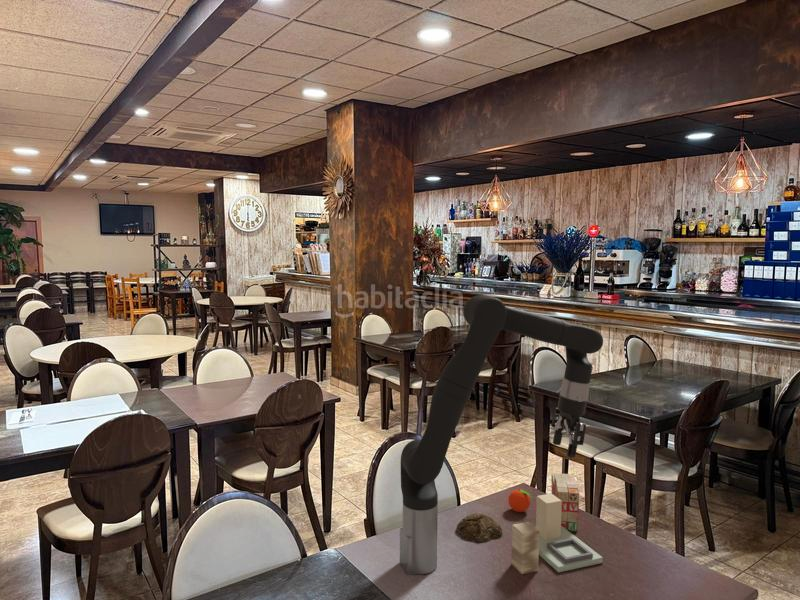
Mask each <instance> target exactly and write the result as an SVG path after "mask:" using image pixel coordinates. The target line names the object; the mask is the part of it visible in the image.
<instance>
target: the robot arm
mask: <svg viewBox="0 0 800 600" xmlns="http://www.w3.org/2000/svg"><path fill="white" fill-rule="evenodd" d="M462 316H463V318H464V320H465V321H466V323H467V324H468V325H469V328H468V329H469V330H468V332H467V334H466V336H465V339H464V341H463V343H462V345H461V346H460V347H459V349H458V350H457V351H456V352H455V354H454V355H453V356H452V357H451V358H450V359H449V360H448V361H447V363H446V365H444V367H443V369H442V370H441V373H440V374H439V377H438V379H437V382H436V384H435V386H434V389H433V392H432V395H431V399H430V406H429V413H428V421H427V423H426V428H425V430H424V432H423V435H422V438H421V439H413V440H411V441H410V442H407V444H406V445H405V446H404V447H403V449H402V451H401V455H400V490H401V494H402V527H400V529H399V563H400V564H401V566H402V568H403V569H404V571H405V572H406V574H408V575H409V574H414V575H426V574H430V573H432V572H434V571H435V570H436V568H437V566H438V507H439V505H438V502H439V500H438V499H439V497H438V496H439V494H438V490H437V487H436V481H435V480H436V479H437V477H438V476H439V474H440V473H441V471H442V468H443V467H444V466H443V465H444V462H445V460H446V456H447V452H448V450H449V447H450V443H451V440H452V437H453V436H454V433H455V430H456V429H457V427H458V425H459V422H460V419H461V418H462V417H461V416H462V415H463V412H464V410H465V408H466V405H467V403H468V402H469V399H470V397H471V394H472V392H473V389H474V388H475V385H476V383H477V380H478V377H479V375H480V374H481V370H482V369H483V366H484V364H485V361H486V358H487V357H488V354H489V353H490V351H491V349H492V347H493V345H494V343H495V342H496V340H497V338H498V337H499V334H500V332H501V331H502V330H503V331H506V332H507V331H508V332H511V333H514V334H518V335H522V336H524V337H527V338H530V339H532V340H537V341H540V342H544V343H546V344H547V343H548V344H551V345H556V346H561V347H565V358H566V359H565V360H566V365H565V368H564V369H565V370H564V376H563V378H562V379H563V380H562V384H561V386H560V392H559V397H558V402H557V407H555V408H554V411H553V415H552V419H551V420H552V421H551V425H550V426H551V427H552V428H553V431H554V434H553V440H552V444H553V445H555V446H560V445H561V444H562V438H563V432H564V431H565V434H566V436H567V437H568V442H569V443H568V446H567V451H566V456H567V457H568V458H575V457H576V455H577V449H578V446H583V445H584V442H585V435H586V429H587V428H586V427H587V424H586V423H582V422H580V421H581V419H580V418H581V417H582V416H584V415H585V414H586V408H587V403H588V398H589V395H590V385H591V384H590V383H591V378H592V374H593V373H592V372H593V364H592V363H591V362H590V360H589V359H588V354H590V355H591V354H595V353H598V352H599V351H600V350H601V348H602V347H603V345H604V338H603V335H602V334H601V332H600V331H598V330H597V329H596V328H592V327H589V326H587V325H584V324H573V323H570V322H568V321H565V320H563V319H559V318H556V317H552V316H550V315H549V316H547V315H543V314H539V313H532V312H528V311H524V310H521V309H520V310H519V309H515V308H512V307H509V306H506V305H505V303H504V302H503V301H502V300H501V299H499V298H496V297H493V296H489V295H483V294H482V295H481V294H480V295H475V296H473V297H469V299H467V301H466V302H465V303H464V305H463V308H462Z"/></svg>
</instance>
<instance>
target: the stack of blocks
mask: <svg viewBox="0 0 800 600" xmlns="http://www.w3.org/2000/svg"><path fill="white" fill-rule="evenodd" d="M550 477H551V479H550V480H551V481H550V482H551V494H553V495H554V496H556V497H557V498H559V499H560V500H561V501H562V508H561V526H563V527H564V528H565V529H566V530H570V531H569V532H578V527H579V508H580V491H579V488H578V485H577V481H576V478H575V476H574V475H572V476H571V474H570V473H556V472H552V473H551V476H550Z"/></svg>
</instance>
